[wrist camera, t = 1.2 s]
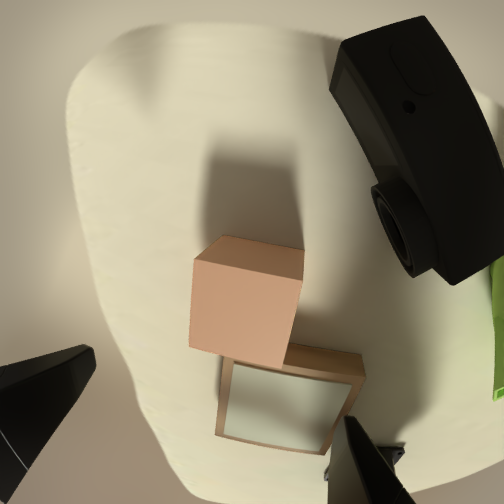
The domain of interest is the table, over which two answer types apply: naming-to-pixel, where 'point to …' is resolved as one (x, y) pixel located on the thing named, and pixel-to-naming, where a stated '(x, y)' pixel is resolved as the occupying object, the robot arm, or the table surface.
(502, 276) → the teapot
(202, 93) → the table surface
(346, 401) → the stand
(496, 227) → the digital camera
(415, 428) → the table surface
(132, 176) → the table surface
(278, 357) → the cube
